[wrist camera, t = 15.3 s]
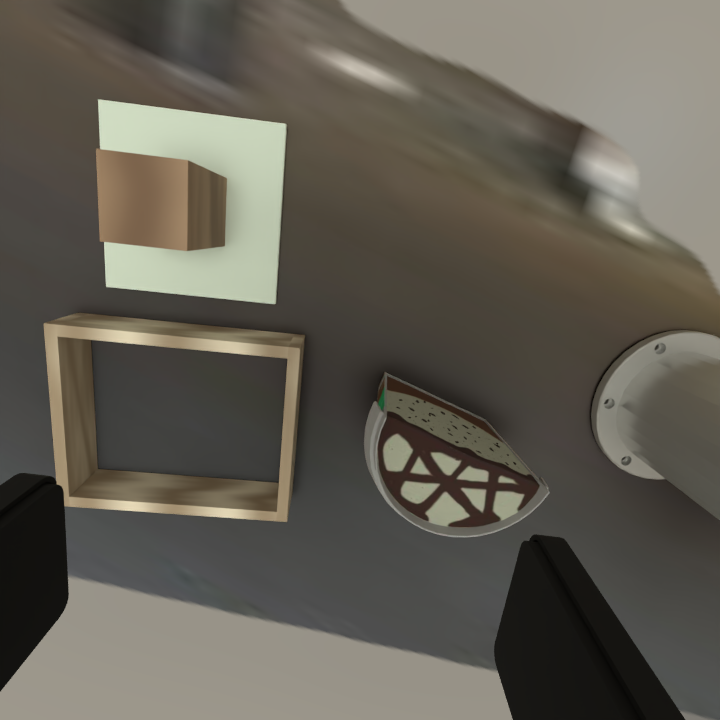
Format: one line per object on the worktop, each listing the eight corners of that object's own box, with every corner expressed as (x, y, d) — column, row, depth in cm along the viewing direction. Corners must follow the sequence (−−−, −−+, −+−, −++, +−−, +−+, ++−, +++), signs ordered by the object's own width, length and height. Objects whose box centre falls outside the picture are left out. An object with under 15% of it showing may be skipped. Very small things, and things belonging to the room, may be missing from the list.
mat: (286, 125, 30) (286, 124, 30) (276, 303, 33) (275, 304, 33) (102, 101, 29) (98, 99, 29) (109, 285, 33) (106, 286, 32)
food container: (333, 429, 36) (329, 500, 27) (367, 363, 35) (377, 413, 25) (463, 486, 38) (504, 572, 29) (501, 426, 37) (557, 495, 27)
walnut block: (227, 178, 30) (187, 160, 23) (224, 246, 32) (187, 251, 24) (158, 169, 30) (95, 148, 22) (159, 238, 31) (100, 241, 24)
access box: (305, 335, 34) (300, 348, 30) (292, 492, 38) (286, 521, 34) (78, 312, 33) (43, 323, 29) (88, 476, 37) (58, 505, 33)
